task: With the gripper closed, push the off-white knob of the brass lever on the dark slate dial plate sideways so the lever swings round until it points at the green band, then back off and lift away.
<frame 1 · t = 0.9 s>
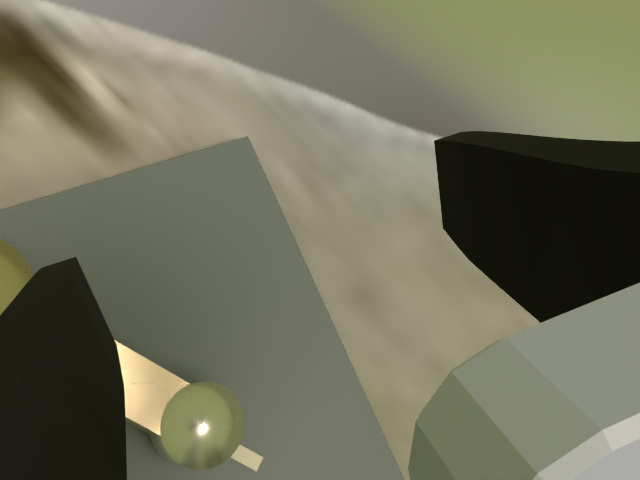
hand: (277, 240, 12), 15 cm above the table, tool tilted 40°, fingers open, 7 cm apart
brass lever: (81, 360, 22), point 3 cm above the table, hinge at 35.0°
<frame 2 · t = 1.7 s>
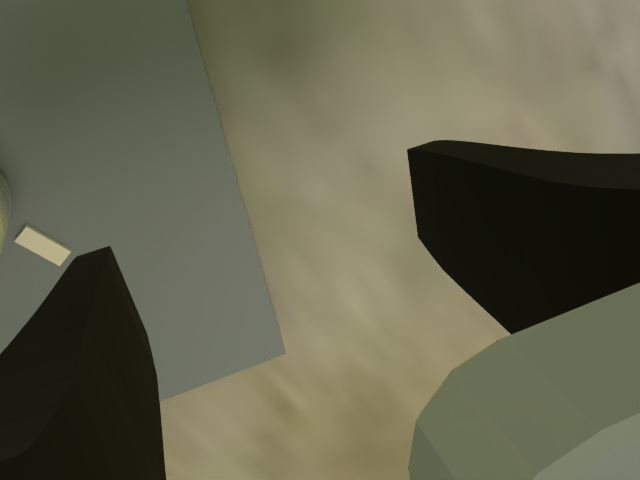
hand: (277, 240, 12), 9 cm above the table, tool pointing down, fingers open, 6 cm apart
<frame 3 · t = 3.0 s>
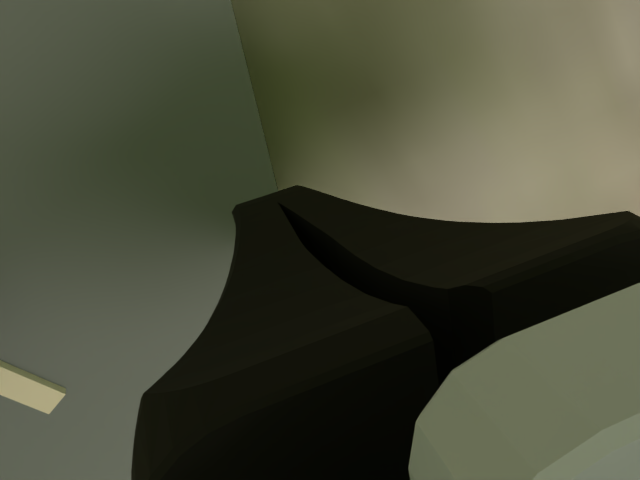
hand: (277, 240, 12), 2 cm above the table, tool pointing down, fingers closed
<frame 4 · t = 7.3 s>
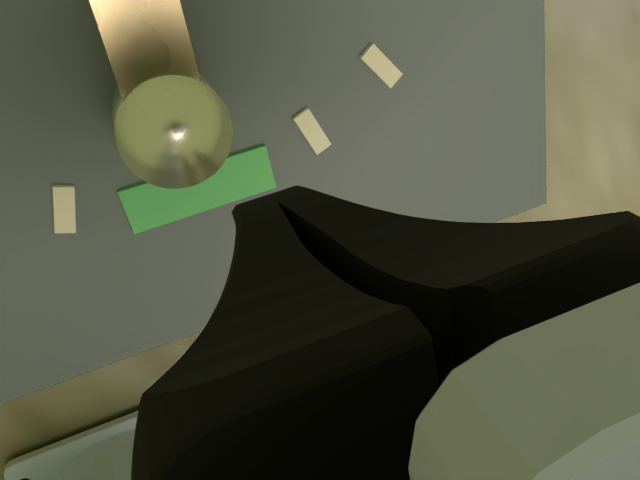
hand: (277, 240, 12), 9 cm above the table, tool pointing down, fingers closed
dial plate: (147, 33, 18), on the table
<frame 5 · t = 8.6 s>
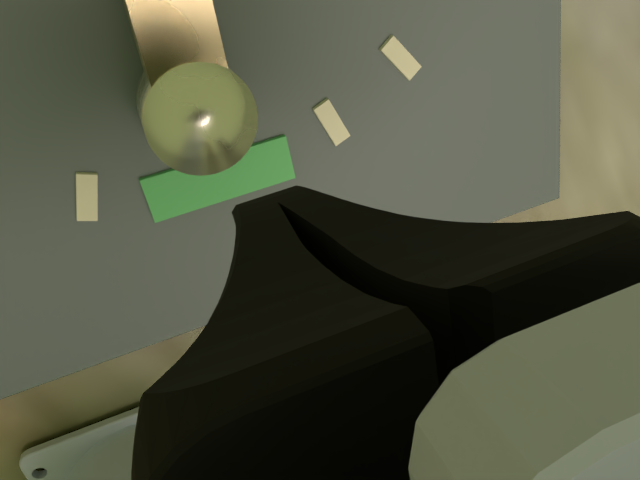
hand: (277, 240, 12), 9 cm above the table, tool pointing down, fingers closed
dial plate: (170, 23, 18), on the table
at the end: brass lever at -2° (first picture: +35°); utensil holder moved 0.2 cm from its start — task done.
